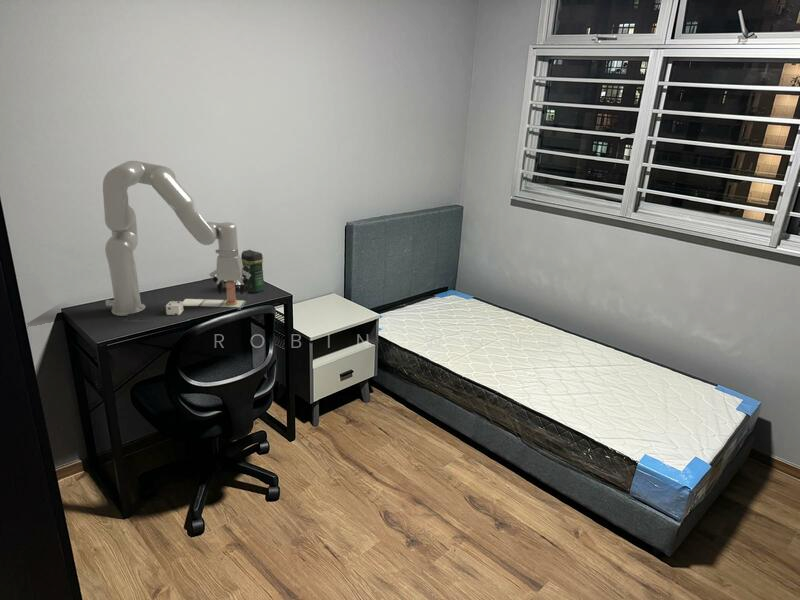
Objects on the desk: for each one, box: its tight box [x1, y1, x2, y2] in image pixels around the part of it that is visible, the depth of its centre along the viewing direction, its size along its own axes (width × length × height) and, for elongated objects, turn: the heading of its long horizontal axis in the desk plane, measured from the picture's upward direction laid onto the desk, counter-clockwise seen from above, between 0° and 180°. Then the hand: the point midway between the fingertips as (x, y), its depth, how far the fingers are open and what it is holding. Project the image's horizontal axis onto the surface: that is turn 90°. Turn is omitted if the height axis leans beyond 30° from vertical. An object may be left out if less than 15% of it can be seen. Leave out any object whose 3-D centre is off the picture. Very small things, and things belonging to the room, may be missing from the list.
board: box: [183, 298, 247, 311], centre depth 238 cm, size 26×9×1 cm, turn 91°
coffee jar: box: [240, 249, 265, 294], centre depth 255 cm, size 10×8×19 cm
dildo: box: [224, 281, 238, 305], centre depth 236 cm, size 5×5×11 cm
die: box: [165, 300, 185, 316], centre depth 226 cm, size 5×5×5 cm
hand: (231, 292), depth 236 cm, fingers open, 8 cm apart
